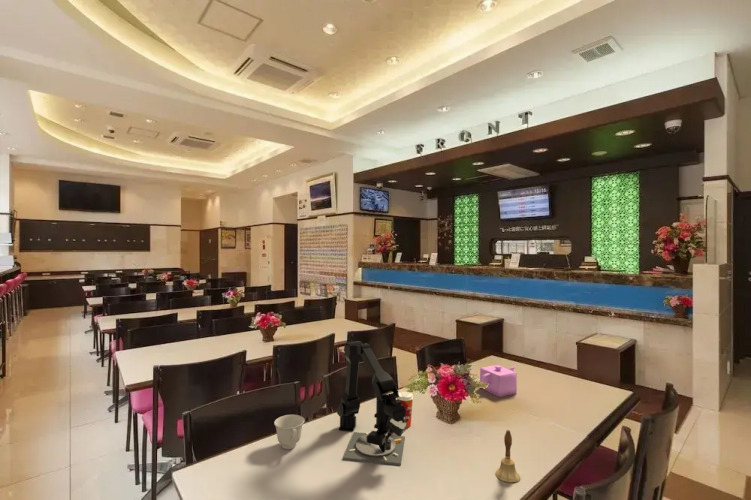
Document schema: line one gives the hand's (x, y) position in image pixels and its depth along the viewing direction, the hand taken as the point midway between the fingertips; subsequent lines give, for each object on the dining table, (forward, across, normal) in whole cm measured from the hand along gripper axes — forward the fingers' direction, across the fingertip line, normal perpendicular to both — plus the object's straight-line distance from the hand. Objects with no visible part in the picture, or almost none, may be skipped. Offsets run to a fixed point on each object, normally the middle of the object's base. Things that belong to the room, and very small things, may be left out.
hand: (383, 451), depth 143 cm
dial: (+2, +6, +6) cm, 8 cm away
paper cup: (+3, +30, +2) cm, 30 cm away
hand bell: (+3, +9, -44) cm, 45 cm away
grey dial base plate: (+3, +6, +6) cm, 9 cm away
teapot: (+3, +93, -33) cm, 98 cm away
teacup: (+3, -8, +37) cm, 38 cm away
